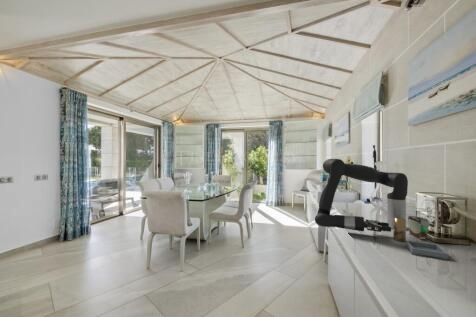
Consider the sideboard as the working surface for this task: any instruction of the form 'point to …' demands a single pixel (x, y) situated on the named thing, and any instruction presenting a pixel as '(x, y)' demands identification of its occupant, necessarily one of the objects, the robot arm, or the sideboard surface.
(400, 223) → the bronze can
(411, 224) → the food container
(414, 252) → the tray
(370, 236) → the sideboard surface
